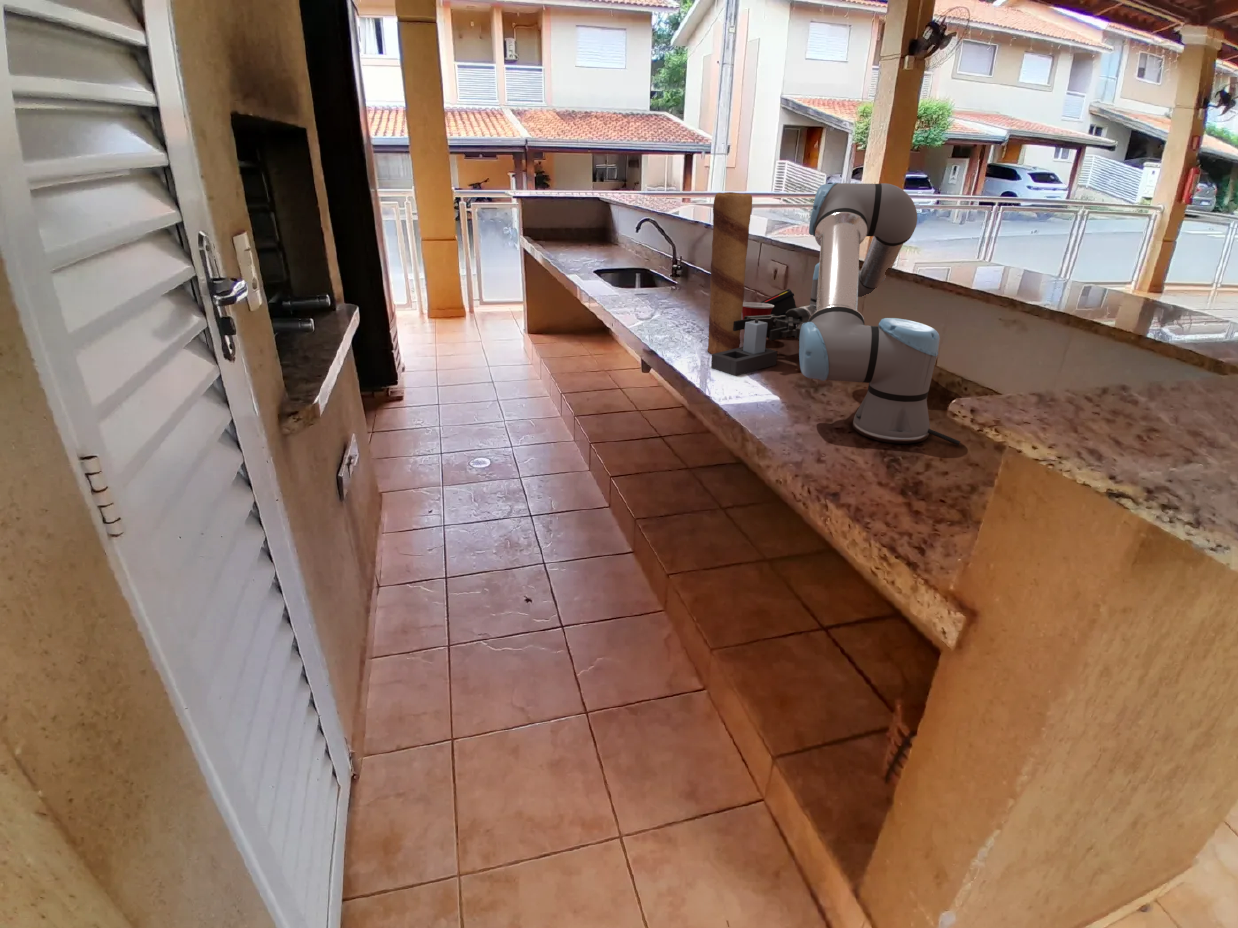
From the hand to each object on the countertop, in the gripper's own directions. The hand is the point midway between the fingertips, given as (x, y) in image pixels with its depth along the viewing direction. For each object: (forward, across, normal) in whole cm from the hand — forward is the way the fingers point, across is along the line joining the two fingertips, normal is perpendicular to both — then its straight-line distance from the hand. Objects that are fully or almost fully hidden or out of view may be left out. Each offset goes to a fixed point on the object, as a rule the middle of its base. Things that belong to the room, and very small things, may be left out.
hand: (751, 330), depth 173 cm
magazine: (-33, +18, -10) cm, 39 cm away
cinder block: (+2, 0, -10) cm, 10 cm away
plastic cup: (-22, +18, -10) cm, 30 cm away
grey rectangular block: (-2, 0, -10) cm, 10 cm away
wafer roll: (-4, +15, -10) cm, 18 cm away
